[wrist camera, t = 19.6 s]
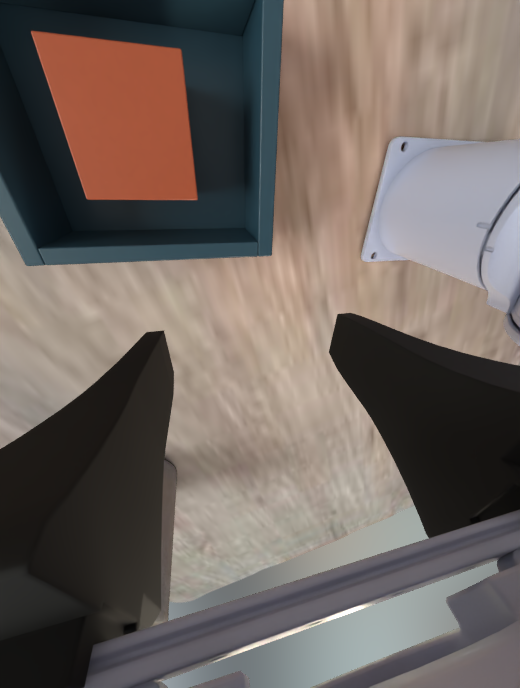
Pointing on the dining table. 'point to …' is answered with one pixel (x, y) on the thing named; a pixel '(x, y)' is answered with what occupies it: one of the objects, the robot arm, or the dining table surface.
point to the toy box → (205, 125)
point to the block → (122, 115)
